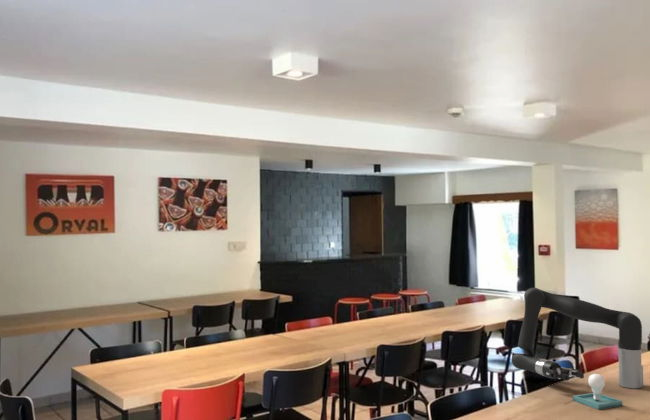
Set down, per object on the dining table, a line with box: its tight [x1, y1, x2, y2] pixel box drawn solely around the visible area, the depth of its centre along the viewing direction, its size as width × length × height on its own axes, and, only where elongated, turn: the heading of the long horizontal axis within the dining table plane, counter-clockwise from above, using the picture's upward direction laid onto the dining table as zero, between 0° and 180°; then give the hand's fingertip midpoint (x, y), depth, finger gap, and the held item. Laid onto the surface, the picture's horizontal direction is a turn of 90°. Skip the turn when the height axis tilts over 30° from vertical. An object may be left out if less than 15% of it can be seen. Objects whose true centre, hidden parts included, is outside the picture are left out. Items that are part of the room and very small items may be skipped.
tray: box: [572, 392, 623, 410], centre depth 233 cm, size 13×13×2 cm
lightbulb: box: [587, 373, 606, 401], centre depth 233 cm, size 6×6×11 cm
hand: (575, 377), depth 243 cm, fingers open, 8 cm apart
